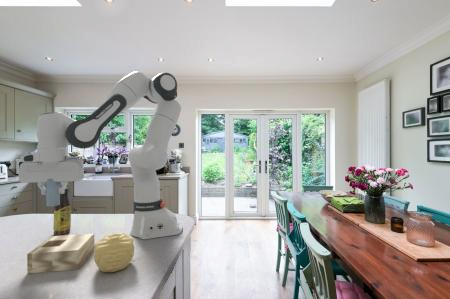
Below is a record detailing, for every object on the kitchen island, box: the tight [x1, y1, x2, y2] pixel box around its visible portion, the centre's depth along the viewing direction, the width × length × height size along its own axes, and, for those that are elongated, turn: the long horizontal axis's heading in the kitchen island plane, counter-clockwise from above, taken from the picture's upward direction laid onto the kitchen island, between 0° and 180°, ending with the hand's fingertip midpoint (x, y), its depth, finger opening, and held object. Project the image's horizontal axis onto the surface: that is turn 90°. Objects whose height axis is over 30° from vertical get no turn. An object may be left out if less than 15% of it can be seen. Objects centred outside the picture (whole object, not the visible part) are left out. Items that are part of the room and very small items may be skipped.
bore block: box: [26, 233, 95, 274], centre depth 78 cm, size 14×14×6 cm
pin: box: [45, 179, 61, 208], centre depth 85 cm, size 4×4×10 cm
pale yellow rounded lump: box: [93, 232, 135, 273], centre depth 74 cm, size 12×12×11 cm
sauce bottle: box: [53, 187, 72, 236], centre depth 103 cm, size 7×6×20 cm
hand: (53, 194), depth 85 cm, fingers closed on pin, 4 cm apart
